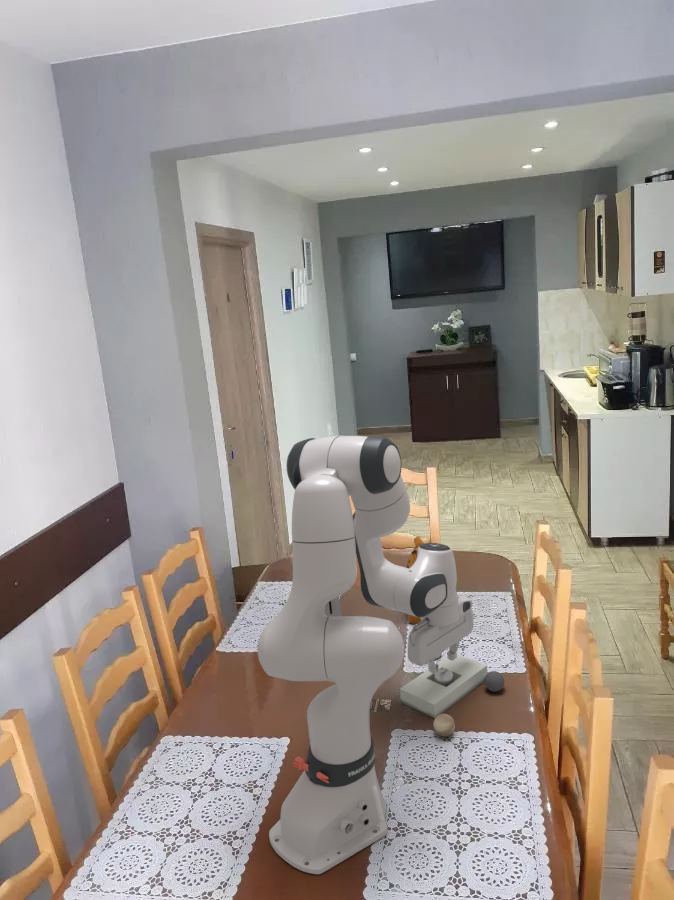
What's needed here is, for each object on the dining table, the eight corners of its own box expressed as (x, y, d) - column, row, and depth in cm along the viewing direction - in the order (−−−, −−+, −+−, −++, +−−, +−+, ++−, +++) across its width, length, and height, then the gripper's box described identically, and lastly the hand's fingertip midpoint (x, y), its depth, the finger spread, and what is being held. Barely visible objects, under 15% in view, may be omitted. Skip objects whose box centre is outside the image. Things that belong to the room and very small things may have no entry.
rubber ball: (497, 697, 164) (496, 680, 163) (480, 690, 167) (479, 673, 166) (508, 688, 167) (507, 671, 166) (492, 682, 170) (491, 665, 169)
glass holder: (344, 612, 213) (339, 565, 209) (340, 636, 199) (334, 585, 195) (315, 613, 214) (309, 566, 210) (308, 637, 200) (302, 587, 196)
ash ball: (446, 743, 150) (445, 724, 149) (429, 735, 153) (428, 716, 152) (459, 733, 153) (458, 714, 152) (442, 725, 156) (441, 706, 155)
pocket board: (435, 718, 159) (434, 704, 158) (400, 702, 166) (399, 688, 165) (487, 678, 172) (486, 665, 171) (453, 665, 179) (453, 652, 178)
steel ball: (446, 694, 165) (445, 676, 164) (431, 687, 169) (429, 670, 167) (458, 685, 168) (457, 668, 167) (442, 679, 172) (441, 662, 170)
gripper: (420, 632, 155) (425, 690, 158) (476, 597, 168) (479, 651, 171) (398, 624, 159) (403, 680, 163) (455, 591, 173) (458, 643, 176)
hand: (443, 665), depth 167 cm, fingers open, 5 cm apart
